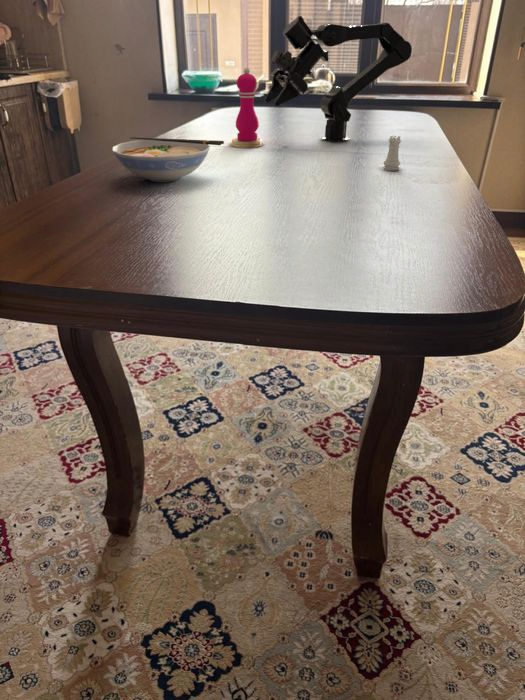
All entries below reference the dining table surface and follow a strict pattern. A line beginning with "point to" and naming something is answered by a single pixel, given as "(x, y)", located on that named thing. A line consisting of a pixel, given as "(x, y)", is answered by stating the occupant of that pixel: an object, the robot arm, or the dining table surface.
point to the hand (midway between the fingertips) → (270, 103)
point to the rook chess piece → (392, 155)
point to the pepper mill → (247, 108)
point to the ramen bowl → (163, 157)
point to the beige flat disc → (246, 143)
